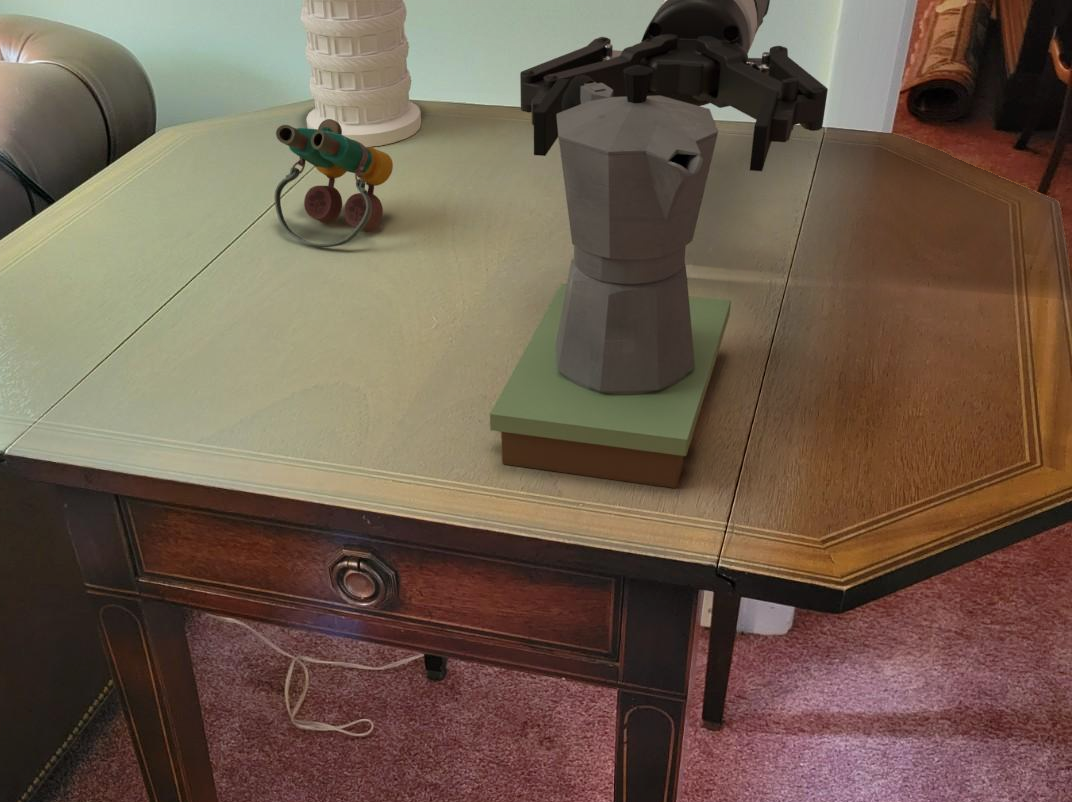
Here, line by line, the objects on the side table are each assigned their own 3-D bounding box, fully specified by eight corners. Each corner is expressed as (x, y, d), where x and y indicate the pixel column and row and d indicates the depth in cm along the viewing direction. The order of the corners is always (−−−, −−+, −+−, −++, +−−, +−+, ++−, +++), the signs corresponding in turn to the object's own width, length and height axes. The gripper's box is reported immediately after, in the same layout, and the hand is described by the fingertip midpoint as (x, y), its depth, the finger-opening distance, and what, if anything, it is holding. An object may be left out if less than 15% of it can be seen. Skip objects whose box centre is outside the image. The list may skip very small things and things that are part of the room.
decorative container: (296, 118, 127) (271, -76, 115) (402, 101, 129) (388, -89, 118) (323, 155, 118) (299, -50, 107) (436, 136, 121) (424, -65, 109)
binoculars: (385, 264, 104) (411, 144, 102) (328, 243, 96) (355, 113, 94) (296, 245, 108) (319, 129, 106) (233, 223, 99) (257, 98, 98)
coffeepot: (742, 392, 74) (779, 88, 63) (602, 427, 72) (614, 117, 60) (627, 289, 85) (640, 14, 74) (503, 316, 83) (496, 36, 71)
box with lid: (725, 352, 86) (731, 300, 84) (682, 495, 73) (687, 439, 71) (560, 333, 89) (561, 283, 86) (491, 468, 76) (489, 413, 73)
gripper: (864, 101, 90) (845, 216, 74) (536, 83, 96) (456, 185, 80) (882, -9, 85) (866, 89, 69) (536, -21, 91) (450, 67, 76)
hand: (646, 141), depth 75 cm, fingers open, 13 cm apart
